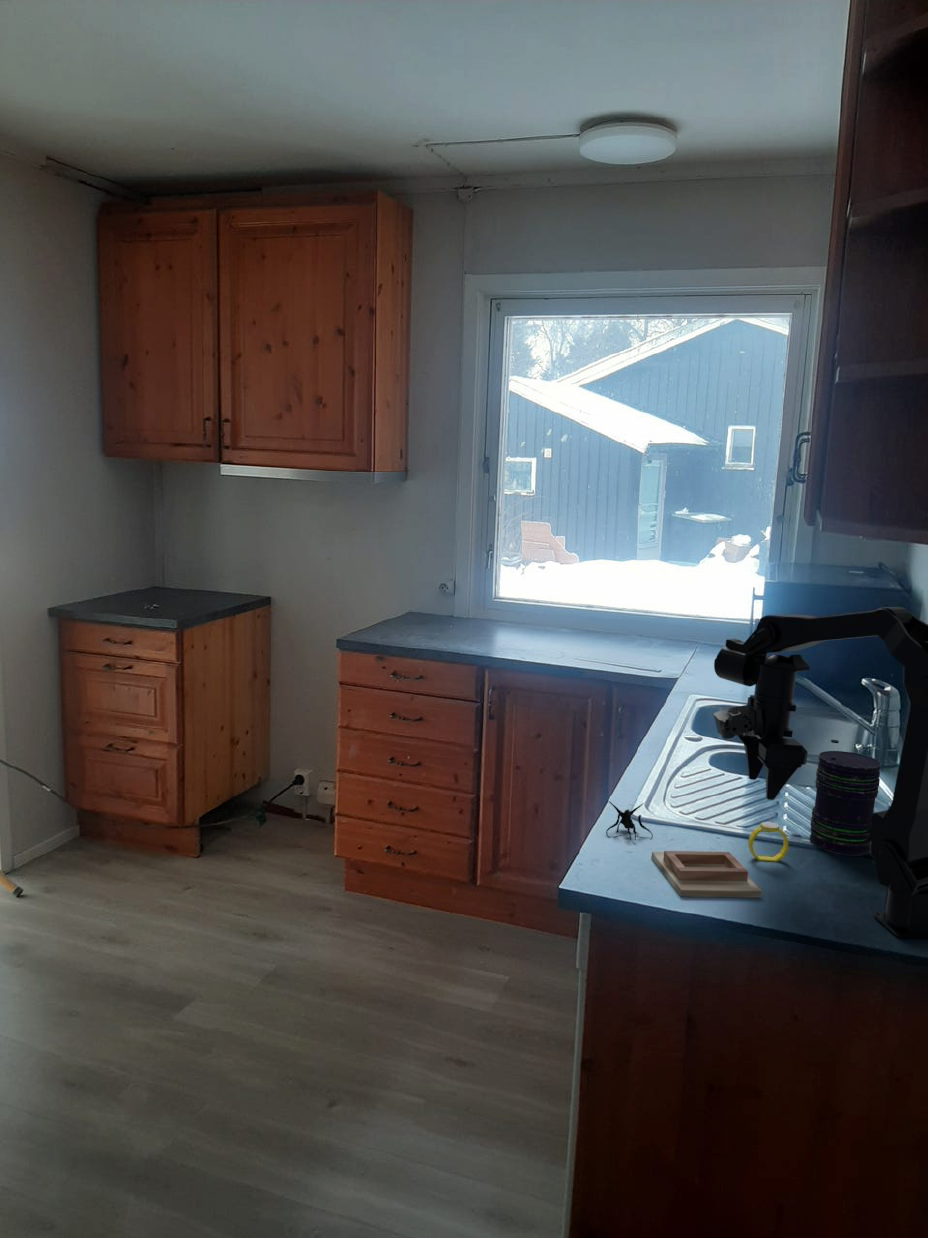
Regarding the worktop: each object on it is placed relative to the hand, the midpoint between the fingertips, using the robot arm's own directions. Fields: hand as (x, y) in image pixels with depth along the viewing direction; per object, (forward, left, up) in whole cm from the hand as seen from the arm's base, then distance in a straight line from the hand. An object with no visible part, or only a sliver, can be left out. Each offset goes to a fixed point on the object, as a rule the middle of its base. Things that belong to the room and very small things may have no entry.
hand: (761, 789), depth 149 cm
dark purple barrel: (+6, -18, -12) cm, 22 cm away
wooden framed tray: (-8, +11, -11) cm, 18 cm away
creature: (+9, +18, -12) cm, 23 cm away
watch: (-1, -2, -12) cm, 12 cm away
